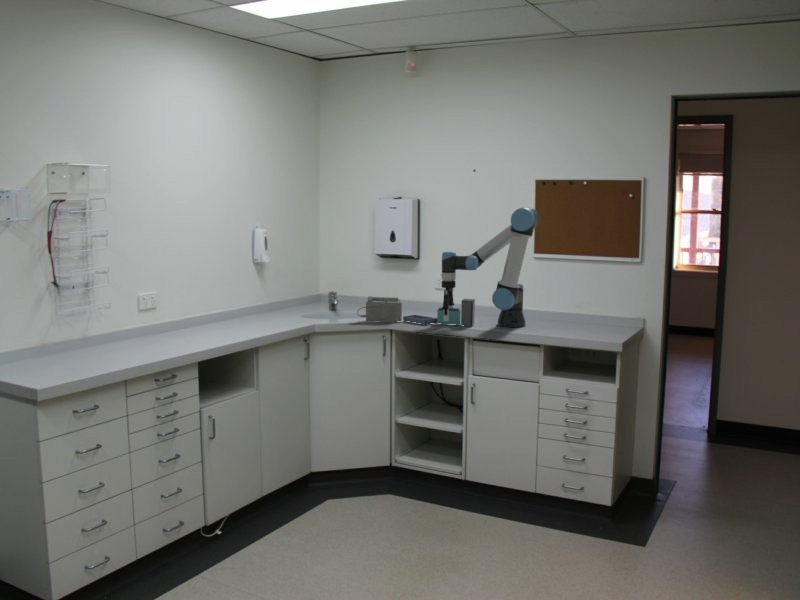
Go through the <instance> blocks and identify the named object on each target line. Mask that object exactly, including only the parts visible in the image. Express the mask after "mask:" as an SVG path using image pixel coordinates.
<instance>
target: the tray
mask: <svg viewBox="0 0 800 600" xmlns="http://www.w3.org/2000/svg"><path fill="white" fill-rule="evenodd" d="M403 320H404V321H410V322H416V323H421V324H425V325H424V326H427V325H426V324H430V323H437V317H433V316H427V315H426V316H425V315H421V314H420V315H419V314H411V315H403V317H402V321H403Z"/></svg>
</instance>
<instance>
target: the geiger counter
mask: <svg viewBox="0 0 800 600" xmlns="http://www.w3.org/2000/svg"><path fill="white" fill-rule="evenodd" d="M361 309H365V314H362V315H360V314H358V313H359V311H360V310H361ZM402 309H403V303H402V302H401V301H400V299H399V297H388V296H387V297H385V296H383V297H382V296H379V297H378V296H369V295H368V296H367V301H365V306H362V307H361V308H359V309H357V311H356V315H357V316H358V317H361V318H365V322H366V321H380V322H379V323H398V322H397V321H402V322H403V317H402V311H403V310H402Z"/></svg>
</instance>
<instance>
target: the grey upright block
mask: <svg viewBox="0 0 800 600" xmlns="http://www.w3.org/2000/svg"><path fill="white" fill-rule="evenodd" d="M475 303H476V300H475V298H463V299H462V300H461V307H460V308H461V309H460V310H461V315H460V326H461V325H464V326H463V327H466V326H472V327H473V326H474V325H475V309H476V308H475V306H476V305H475ZM473 324H474V325H473Z"/></svg>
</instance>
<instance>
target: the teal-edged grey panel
mask: <svg viewBox="0 0 800 600" xmlns="http://www.w3.org/2000/svg"><path fill="white" fill-rule="evenodd" d="M460 308H461V307H460ZM460 308H459V307H453V308H448V309H449V321H443V312H444V309H442V307H438V309H437V313H436V314H437V315H436V316H437V317H436V318H437V323H441V324H456V325H459V324H460V325H461V309H460ZM460 325H459V326H460Z"/></svg>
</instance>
